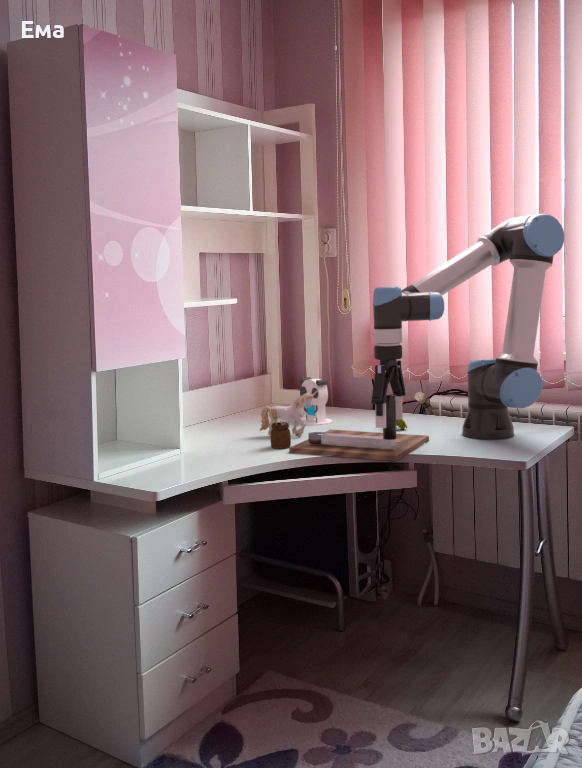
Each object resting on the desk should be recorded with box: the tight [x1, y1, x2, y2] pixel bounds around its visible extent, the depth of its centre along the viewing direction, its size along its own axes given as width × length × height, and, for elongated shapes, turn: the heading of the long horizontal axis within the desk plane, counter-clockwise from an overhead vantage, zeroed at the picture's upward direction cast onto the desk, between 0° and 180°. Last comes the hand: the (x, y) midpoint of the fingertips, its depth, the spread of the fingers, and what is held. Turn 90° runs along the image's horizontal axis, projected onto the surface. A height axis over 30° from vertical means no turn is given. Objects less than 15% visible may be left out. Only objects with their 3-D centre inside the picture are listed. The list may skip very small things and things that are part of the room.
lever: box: [308, 393, 397, 449], centre depth 222 cm, size 26×5×14 cm, turn 62°
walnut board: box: [288, 429, 430, 462], centre depth 231 cm, size 32×28×2 cm
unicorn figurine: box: [259, 391, 318, 438], centre depth 249 cm, size 7×20×13 cm, turn 101°
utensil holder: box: [269, 408, 292, 450], centre depth 233 cm, size 6×6×12 cm
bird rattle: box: [396, 398, 408, 430], centre depth 256 cm, size 6×11×9 cm
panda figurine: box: [299, 376, 333, 426], centre depth 272 cm, size 12×11×15 cm
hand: (389, 423), depth 217 cm, fingers open, 12 cm apart
